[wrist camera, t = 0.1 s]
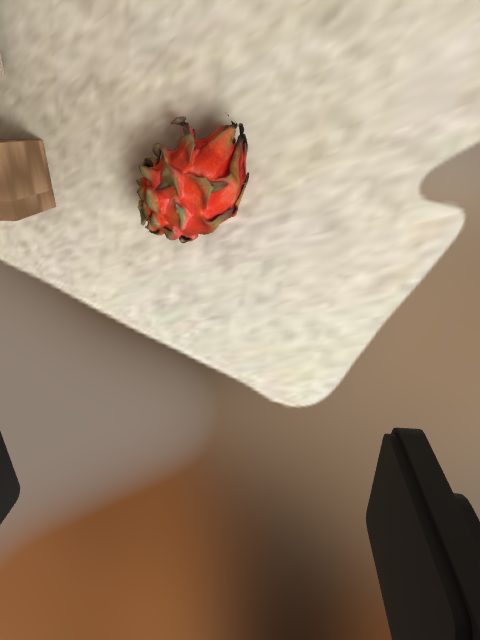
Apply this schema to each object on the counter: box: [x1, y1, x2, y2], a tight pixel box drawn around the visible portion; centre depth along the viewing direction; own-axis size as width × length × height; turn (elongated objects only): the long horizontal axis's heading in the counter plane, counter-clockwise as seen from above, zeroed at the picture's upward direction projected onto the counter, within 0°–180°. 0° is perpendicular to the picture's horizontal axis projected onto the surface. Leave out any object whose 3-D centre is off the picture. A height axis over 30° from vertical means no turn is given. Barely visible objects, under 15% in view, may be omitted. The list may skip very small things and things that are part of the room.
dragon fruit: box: [136, 112, 249, 243], centre depth 33 cm, size 8×8×12 cm
